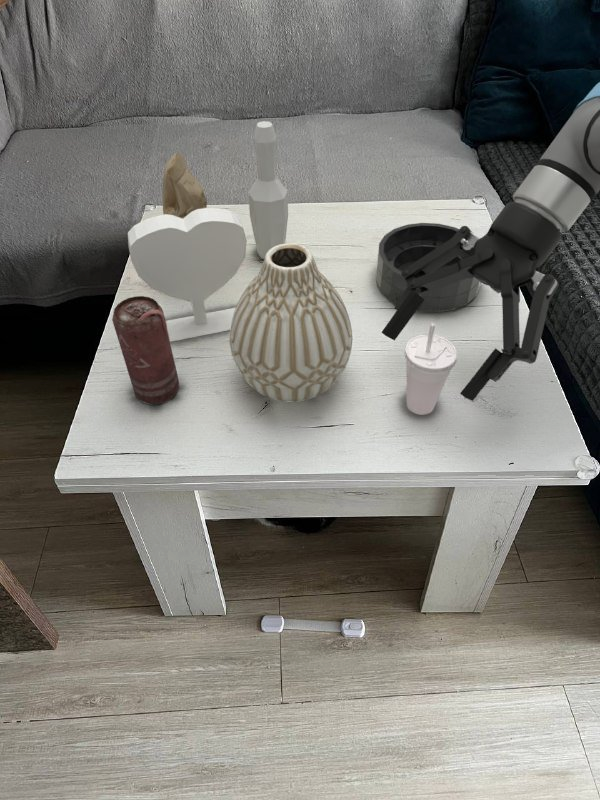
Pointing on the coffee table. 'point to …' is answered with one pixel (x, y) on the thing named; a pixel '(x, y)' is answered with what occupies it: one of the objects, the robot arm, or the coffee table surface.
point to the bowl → (410, 247)
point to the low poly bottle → (267, 194)
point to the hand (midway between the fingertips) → (424, 365)
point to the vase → (290, 328)
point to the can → (146, 349)
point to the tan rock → (181, 189)
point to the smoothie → (427, 370)
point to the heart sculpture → (190, 263)
